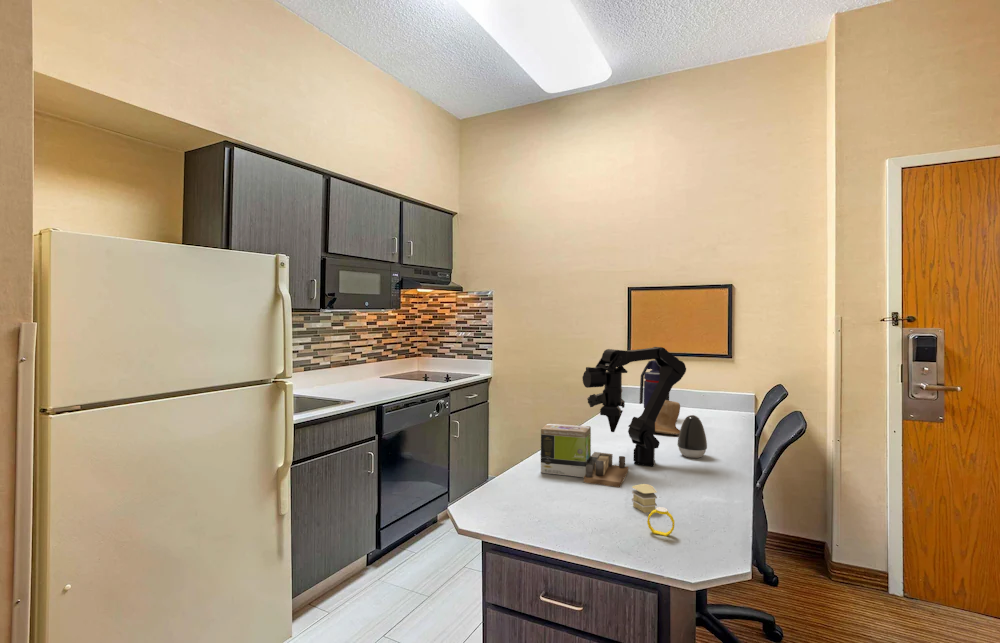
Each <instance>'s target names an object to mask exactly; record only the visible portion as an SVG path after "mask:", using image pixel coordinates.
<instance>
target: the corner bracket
mask: <svg viewBox="0 0 1000 643" xmlns="http://www.w3.org/2000/svg"><path fill="white" fill-rule="evenodd" d="M600 455H601V456H609V466H608V467H612V465H613V458H614V457H613V453H607V452H599V451H594V452H593V453H591V459H590V465H593V469H594V470H595V463H596V461H597V460H598V458H599V456H600Z"/></svg>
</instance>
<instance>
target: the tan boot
mask: <svg viewBox="0 0 1000 643" xmlns="http://www.w3.org/2000/svg"><path fill="white" fill-rule="evenodd" d="M680 412H681V404H680V403H679V402H678V401H674V400H673V401H672V400H669V401H667V400H665V402H664V404H663V406H662V408H661V410H660V412H659V414H658V416H657V418H656V422H655V432H654V434H663V435H679V433H680V429H679V428H677V421H678V419H679V415H680Z"/></svg>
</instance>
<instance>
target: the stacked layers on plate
mask: <svg viewBox="0 0 1000 643" xmlns="http://www.w3.org/2000/svg"><path fill="white" fill-rule="evenodd" d="M631 488H632V489H634V490H632V491H631V494H632V495H633V497H632V498H631V502H632V503H633V504H632V505H633V506H632V507H633V508H635V509H638V510H640V511H641V512H642V513H646V514H647V513H651V512H652V511H653V510H655V509H656V507H657V506H658V505H657V503H656V499H658V496H657V495H656V493H658V491H657V490H656V489H655V488H654V486H652V485H651V484H647V483H640V484H637V485H632V486H631Z"/></svg>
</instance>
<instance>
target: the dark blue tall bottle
mask: <svg viewBox="0 0 1000 643" xmlns="http://www.w3.org/2000/svg"><path fill="white" fill-rule="evenodd" d="M660 368H661V367H660V366H659V365H658V364H657V363H656V361H655V359H650V360H648V361H647V363H646V365H645V367H644V368H643V371H642V372H641V374H640V384H639V385H640V386H639V405H641V404H643V409H645V407H646V405H647V403H648V401H649V400H650V398H651V396H652V394H653V392H654V390H655V388H656V386H657V384H658V382H659V379H660V378H659V371H660ZM647 370H649V371H647ZM666 400H667V401H670V393H669V394H668V396H667V398H666ZM655 422H656V420H655Z"/></svg>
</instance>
